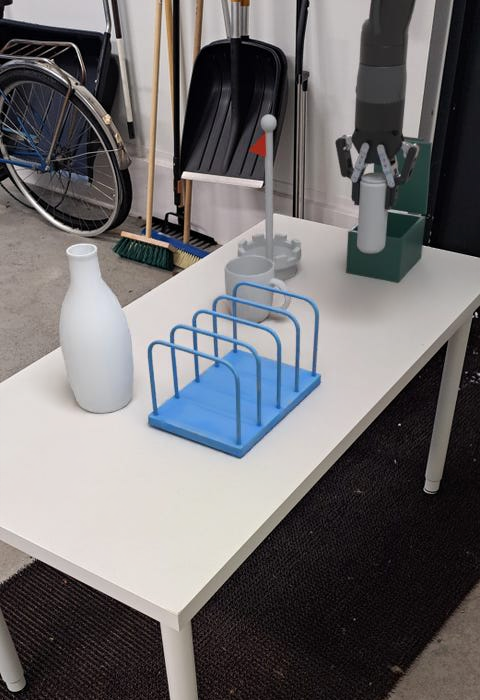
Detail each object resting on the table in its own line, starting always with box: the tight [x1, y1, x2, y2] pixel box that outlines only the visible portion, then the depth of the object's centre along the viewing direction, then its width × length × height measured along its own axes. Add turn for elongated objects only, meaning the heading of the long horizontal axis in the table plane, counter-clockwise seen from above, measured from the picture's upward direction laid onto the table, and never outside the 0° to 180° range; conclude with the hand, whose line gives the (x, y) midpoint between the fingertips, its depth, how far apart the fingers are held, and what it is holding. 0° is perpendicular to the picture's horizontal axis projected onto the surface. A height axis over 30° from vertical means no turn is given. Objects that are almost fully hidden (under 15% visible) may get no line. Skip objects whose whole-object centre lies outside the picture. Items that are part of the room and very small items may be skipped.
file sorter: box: [147, 281, 322, 458], centre depth 133 cm, size 25×17×15 cm
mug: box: [224, 256, 292, 324], centre depth 157 cm, size 13×9×10 cm
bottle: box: [58, 243, 134, 414], centre depth 132 cm, size 11×11×25 cm
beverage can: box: [357, 171, 389, 253], centre depth 143 cm, size 5×5×12 cm
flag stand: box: [236, 113, 302, 281], centre depth 167 cm, size 13×13×30 cm
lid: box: [373, 135, 433, 216], centre depth 171 cm, size 14×11×5 cm
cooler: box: [345, 210, 427, 284], centre depth 174 cm, size 13×11×9 cm
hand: (373, 205), depth 142 cm, fingers closed on beverage can, 5 cm apart
